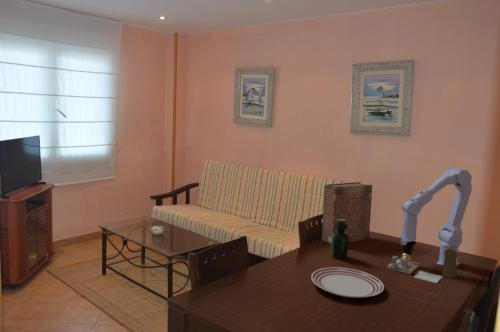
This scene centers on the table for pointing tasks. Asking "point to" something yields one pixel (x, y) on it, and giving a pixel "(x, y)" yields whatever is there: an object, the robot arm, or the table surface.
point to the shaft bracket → (403, 265)
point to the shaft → (403, 258)
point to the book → (347, 210)
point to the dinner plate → (347, 282)
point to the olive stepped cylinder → (450, 264)
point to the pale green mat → (428, 277)
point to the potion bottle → (340, 241)
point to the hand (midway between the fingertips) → (407, 257)
